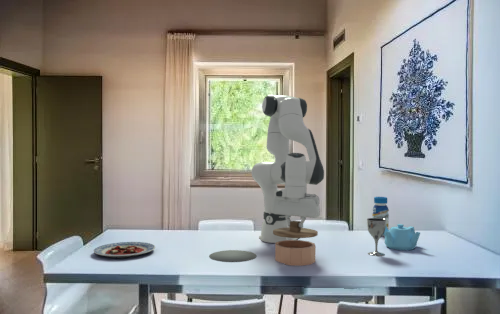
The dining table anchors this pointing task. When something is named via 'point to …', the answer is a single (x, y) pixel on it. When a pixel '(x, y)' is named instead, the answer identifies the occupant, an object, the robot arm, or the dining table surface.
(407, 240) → the teapot
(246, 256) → the tray
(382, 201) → the beverage bottle
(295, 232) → the lid
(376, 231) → the wine glass
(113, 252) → the ceramic plate
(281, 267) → the dining table surface
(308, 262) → the bowl
